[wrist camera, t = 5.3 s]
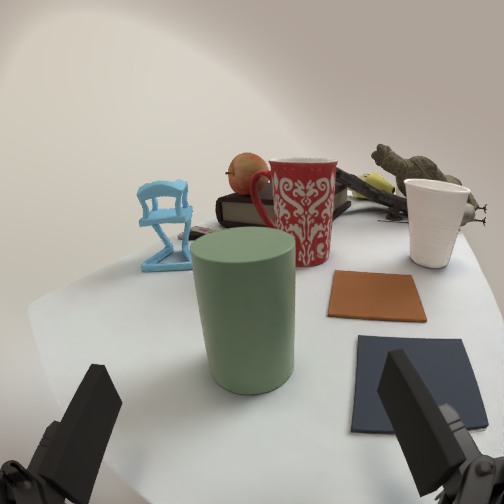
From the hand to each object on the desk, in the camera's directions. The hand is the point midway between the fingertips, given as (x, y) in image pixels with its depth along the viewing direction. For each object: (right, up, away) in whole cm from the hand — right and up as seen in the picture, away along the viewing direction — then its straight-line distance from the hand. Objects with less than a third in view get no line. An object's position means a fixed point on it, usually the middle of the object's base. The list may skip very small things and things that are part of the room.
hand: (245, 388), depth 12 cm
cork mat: (+14, +1, +18) cm, 23 cm away
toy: (+28, +24, +70) cm, 79 cm away
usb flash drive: (-8, +10, +40) cm, 43 cm away
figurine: (+30, +13, +45) cm, 55 cm away
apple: (+3, +20, +42) cm, 47 cm away
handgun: (+30, +17, +42) cm, 55 cm away
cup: (+26, +5, +25) cm, 36 cm away
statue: (+54, +17, +47) cm, 74 cm away
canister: (0, -3, +10) cm, 10 cm away
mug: (+6, +6, +30) cm, 31 cm away
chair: (-11, +5, +31) cm, 33 cm away
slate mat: (+13, -3, +6) cm, 14 cm away
